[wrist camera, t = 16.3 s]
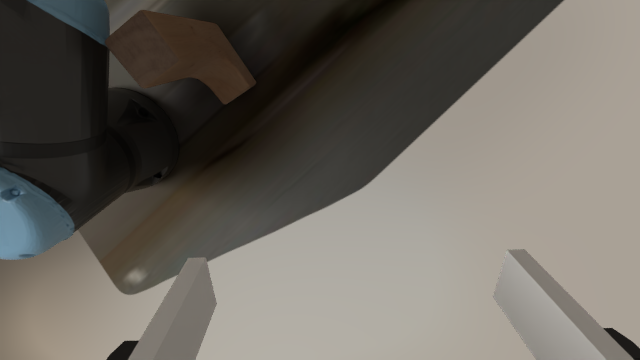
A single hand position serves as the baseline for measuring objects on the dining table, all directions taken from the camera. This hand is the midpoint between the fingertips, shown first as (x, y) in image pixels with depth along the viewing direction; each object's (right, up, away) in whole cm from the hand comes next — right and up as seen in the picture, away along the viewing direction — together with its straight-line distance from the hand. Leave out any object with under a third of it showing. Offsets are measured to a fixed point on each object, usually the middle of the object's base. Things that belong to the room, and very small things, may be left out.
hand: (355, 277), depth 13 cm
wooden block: (-15, +21, +28) cm, 38 cm away
